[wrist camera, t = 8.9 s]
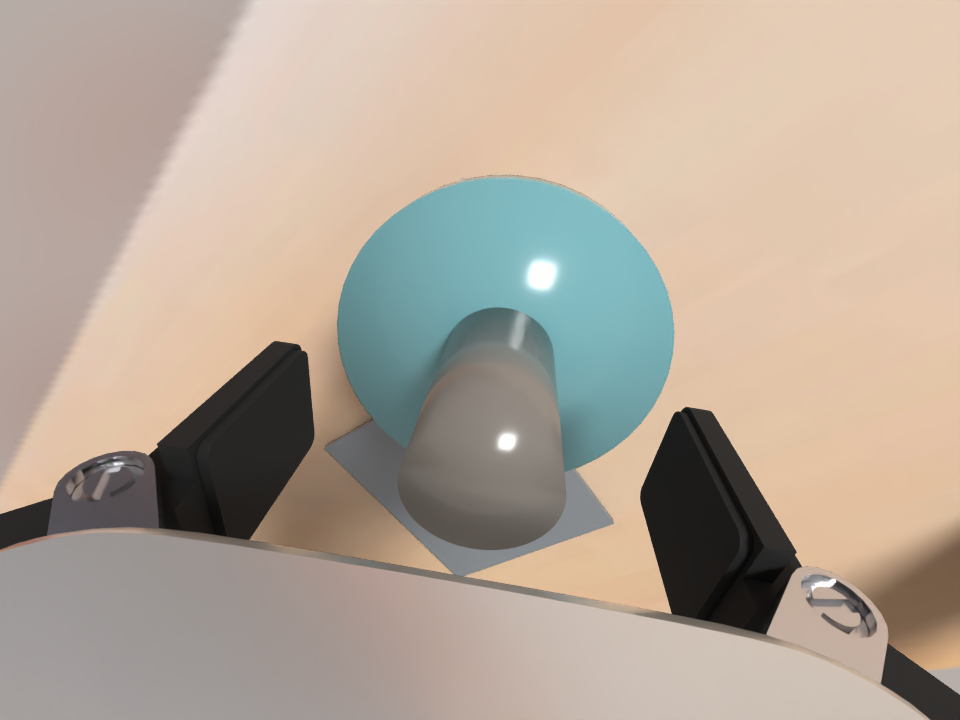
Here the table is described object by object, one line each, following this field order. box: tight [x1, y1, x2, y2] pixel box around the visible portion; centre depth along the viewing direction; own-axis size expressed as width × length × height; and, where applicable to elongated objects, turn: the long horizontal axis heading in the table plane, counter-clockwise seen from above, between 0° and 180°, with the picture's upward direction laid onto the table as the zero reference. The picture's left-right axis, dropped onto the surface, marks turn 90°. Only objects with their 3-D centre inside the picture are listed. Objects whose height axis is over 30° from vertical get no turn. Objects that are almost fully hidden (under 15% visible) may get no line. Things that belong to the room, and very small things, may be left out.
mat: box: [324, 419, 614, 576], centre depth 31 cm, size 16×14×1 cm
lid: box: [337, 175, 674, 550], centre depth 12 cm, size 11×11×7 cm
